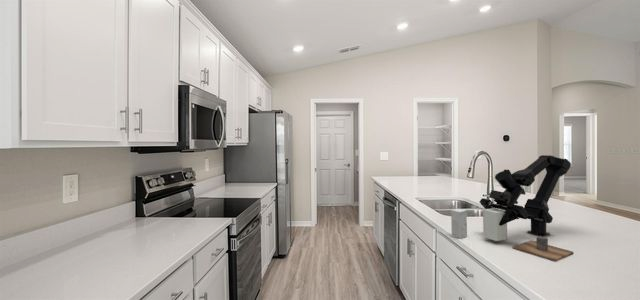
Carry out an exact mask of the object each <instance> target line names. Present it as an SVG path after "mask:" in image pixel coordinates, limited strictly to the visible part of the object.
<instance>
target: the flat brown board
mask: <svg viewBox="0 0 640 300" xmlns="http://www.w3.org/2000/svg"><path fill="white" fill-rule="evenodd" d="M535 238H536V240H535V241H534V240H528V241H526V242H522V243H520V244H519V243H518V244H517V245H513V246H512V250H516V251H519V252H523V253H525V254H530V255H533V256H536V257H538V258H541V259H545V260H548V261H551V262H554V261H555V262H558V261H560V260H562V259H565V258H568V257H570V256H573V255H574V251H572V250H569V249H564V248H561V247H557V246H553V245H550V244H549V242H548V240H549V238H548V237H545V236H539V235H538V236H536V237H535Z"/></svg>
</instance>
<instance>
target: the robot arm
mask: <svg viewBox="0 0 640 300" xmlns="http://www.w3.org/2000/svg"><path fill="white" fill-rule="evenodd" d="M571 165H572V164H571V161H569V159H567V158H560V157H556V156H554V155H551V154H550V155H548V154H547V155H545V154H543V155H540V156H539V157H538V158H537V159H536V160H534V161H533V162H532V163H530V164H529V165H528V166H527V167H526V168H523V169H520V170H517V171H514V172H511V171H510V169H503V170H502V171H499V172H497V173H496V174H495V176H494V180H495V181H496V182H497V183H498V184H499V185H500V187H501V188H502V189H505V190H503V191H499V190H494V189H491V190H490V193H489V195H488V197H489V198H491V199H493V201H492V200H491V199H488V198H481V199H480V200H479V204H480V205H481V206H482V207H483V208H484V209H490V208H495V209H499V210H504V211H505V214H504V216H503V218H502V219H501V221H500V223H499V225H500V226H502V225H504V224H506V223H507V224H508V223H510V222H512V221H515V220H519V219H522V220H530V230H527V231H526V232H527V233H529V234H531V235H535V236H538V237H539V236H541V237H545V236H549V235H551V233H550V232H547V224H551V223H552V222H553V219H554V217H553V216H552V215H551V213H550V212H549V211H550V208H549V205H548V202H549V200H550V198H551V196H552V194H553V191H554V190H555V188H556V185H557V183H558V181H559V180H560V178H561V177H562V176H565V175H566V174H567V173H568V171H569V170H570V168H571V167H572V166H571ZM544 170H545V171H546V173H545V176H544V178H543V180H542V182H541V184H540V186H539V188H538V189H537V192H536V194H535V196H534V197H533V198H527V200H526V202H525V204H524V206H522V205H519V204H518V203H519V201H518V200H519V198H520V196H521V195H524V196H525V195H526V191H525V188H524V187H531V186H532V185H533V183H534V182H535V180H536V176H537V175H539V174H540V173H542V171H544Z"/></svg>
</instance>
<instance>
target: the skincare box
mask: <svg viewBox="0 0 640 300" xmlns="http://www.w3.org/2000/svg"><path fill="white" fill-rule="evenodd" d="M467 216H468V215H467V209H462V208H455V209H451V211H450V218H451V236H452V237H453V238H456V239H462V238H465V237H467V236H468V222H467Z"/></svg>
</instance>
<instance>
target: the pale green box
mask: <svg viewBox="0 0 640 300" xmlns="http://www.w3.org/2000/svg"><path fill="white" fill-rule="evenodd" d="M504 214H505V210H501V209H497V208H490V209H485V208H484V209H482V232H483V236H482V237H483V238H486V239H490V240H492V241H494V242H500V241H505V240H507V239H508V223H506V224H504V225H502V226H500V225H499V223H500V221H501V219H502V218H503V216H504Z"/></svg>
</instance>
